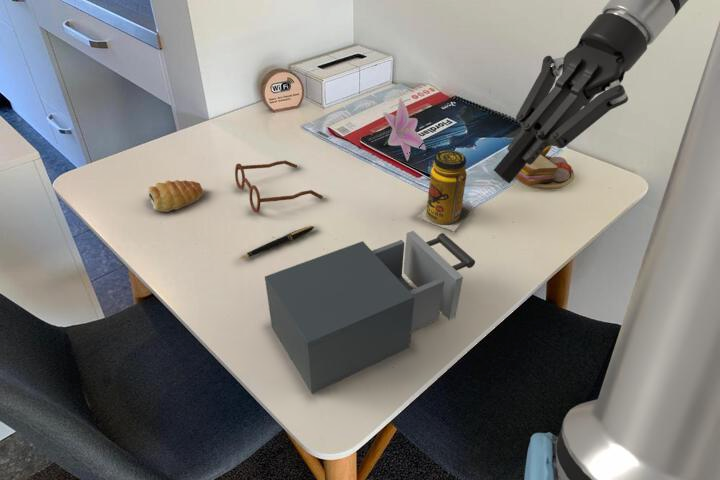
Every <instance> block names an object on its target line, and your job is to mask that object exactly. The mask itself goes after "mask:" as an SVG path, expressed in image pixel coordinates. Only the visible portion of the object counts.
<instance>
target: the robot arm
mask: <svg viewBox="0 0 720 480" xmlns="http://www.w3.org/2000/svg"><path fill="white" fill-rule="evenodd" d="M687 2H689V0H609V1H608V2H607V3H606V4H605V6H604V7H603V8H602V10H601V13H600V14H598V15H597V16H596V17H595V18H594V19H593V21H592V22H591V23H590V25H588V26H587V28H586V29H585V30H584V31H583V33H582V34H581V36H580V38H579V41H578V43H577V45H576V46H575V47H574V48H573V49H571V50H569V51H568V52H566V54H565V55H564V56H562V57H558V58H553V57H552V56H551V55H546V56H545V57H544V58H543V60H542V64H541V69H540V72H539V74H538V76H537V78H536V79H535V81H534V83H533V85H532V87H531V88H530V90H529V92H528V94H527V96H526V98H525V100H524V101H523V103H522V105H521V107H520V108H519V111H518V112H517V114H516V116H515V119H516V120H517V122H518V123H519V125H520V126H521V129H520V131H519V132H518V133H517V134H516V136H515V137H514V138H513V139H512V140H511V142H510V143H509V144H508V146H507V148H506V150H507V151H508V152H507V153H506V154H505V155H504V157H502V159H501V160H500V162H499V163H497V165H496V166H495V167H494V169H493V171H494V172H495V173H496V174H497V175H498V177H500V179H502V180H503V181H505V182H507V183H508V184H509V185H510V184H511V183H512V182H513V180H514V179H516V178H515V177H516V175H517V174H518V173H519V172H520V171H521V169H522V168H523V167H524V166H525V165H526V163H527V164H529V165H530V164H532V163H533V162H534V161H535V160H536V159H537V158H538V156H539V155H540V154H541V153H542V152H543V150H544V149H545V148H546V147H548V146H551V147H557V148H558V149H564V148H565V147H566V146H568V145H569V144H570V143H571V142H573V141H575V139H577V138H578V137H579V136H580V135H581V134H582V133H584V132H585V131H586V130H587V129H589V128H590V127H591V126H593V125H594V124H595V123H596V122H597V121H599V120H600V119H601V118H603V117H604V116H605V115H606V114H607V113H609V111H611V110H613V109H615V108H617V107H620V106H622V105H625V104H626V103H627V102H628V101H629V96H628V94H627V91H626V90H625V87H624V86H623V85H622V82H623V80H624V77H625V74H626V72H628V71H630V70H631V69H632V68H633V67H634V65H636V63H637V62H638V61H639V60H640V58H641V57H642V56H643V55H644V54H645V52H646V51H647V50H648V46H650V45H652V44H653V43H654V42H655V41H656V39H657V38H658V37H659V36H660V35H661V33H662V32H663V31H664V30H665V29H666V27H667V26H668V25H669V24H670V23H671V22H672V21H673V19H674V18H675V16H677V15H678V14H679V11H680V10H681V9H682V8H683V7H684V6H685V5H686V4H687ZM704 65H705V66H704V69H703V72H702V75H701V78H700V81H699V84H698V87H697V91H696V94H695V97H694V99H693V102H692V105H691V109H690V112H689V116H688V119H687V122H686V124H685V127H684V131H683V133H682V137H681V140H680V143H679V146H678V150H677V152H676V155H675V159H674V162H673V165H672V168H671V172H670V174H669V178H668V181H667V183H666V186H665V189H664V193H663V196H662V198H661V202H660V205H659V208H658V212H657V214H656V217H655V221H654V224H653V227H652V230H651V233H650V237H649V240H648V242H647V246H646V248H645V252H644V255H643V258H642V261H641V265H640V267H639V270H638V273H637V276H636V280H635V282H634V286H633V288H632V292H631V294H630V298H629V301H628V304H627V307H626V309H625V310H626V311H625V314H624V316H623V320H622V323H621V326H620V329H619V333H618V335H617V338H616V342H615V345H614V348H613V351H612V354H611V357H610V361H609V363H608V366H607V370H606V373H605V375H604V378H603V382H602V384H601V388H600V391H599V395H598V398H597V399H593V400H590V401H585V402H583V403H579V404H577V405H575V406H574V407H572V408H570V409H569V411H568V412H567V413H566V415H565V416H564V418H563V421H562V424H561V427H560V431H559V433H558V436H557V435H554V434H553V433H551V432H550V431H549V432H536V433H535V432H534V433H533V434H532V435H531V437H530V442H529V444H528V448H527V454H526V461H525V462H526V463H525V469H524V479H523V480H720V21H719V22H718V25H717V28H716V31H715V35H714V38H713V41H712V44H711V47H710V50H709V54H708V56H707V59H706V62H705V64H704ZM561 71H562V72H561ZM557 77H558V78H557Z"/></svg>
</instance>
